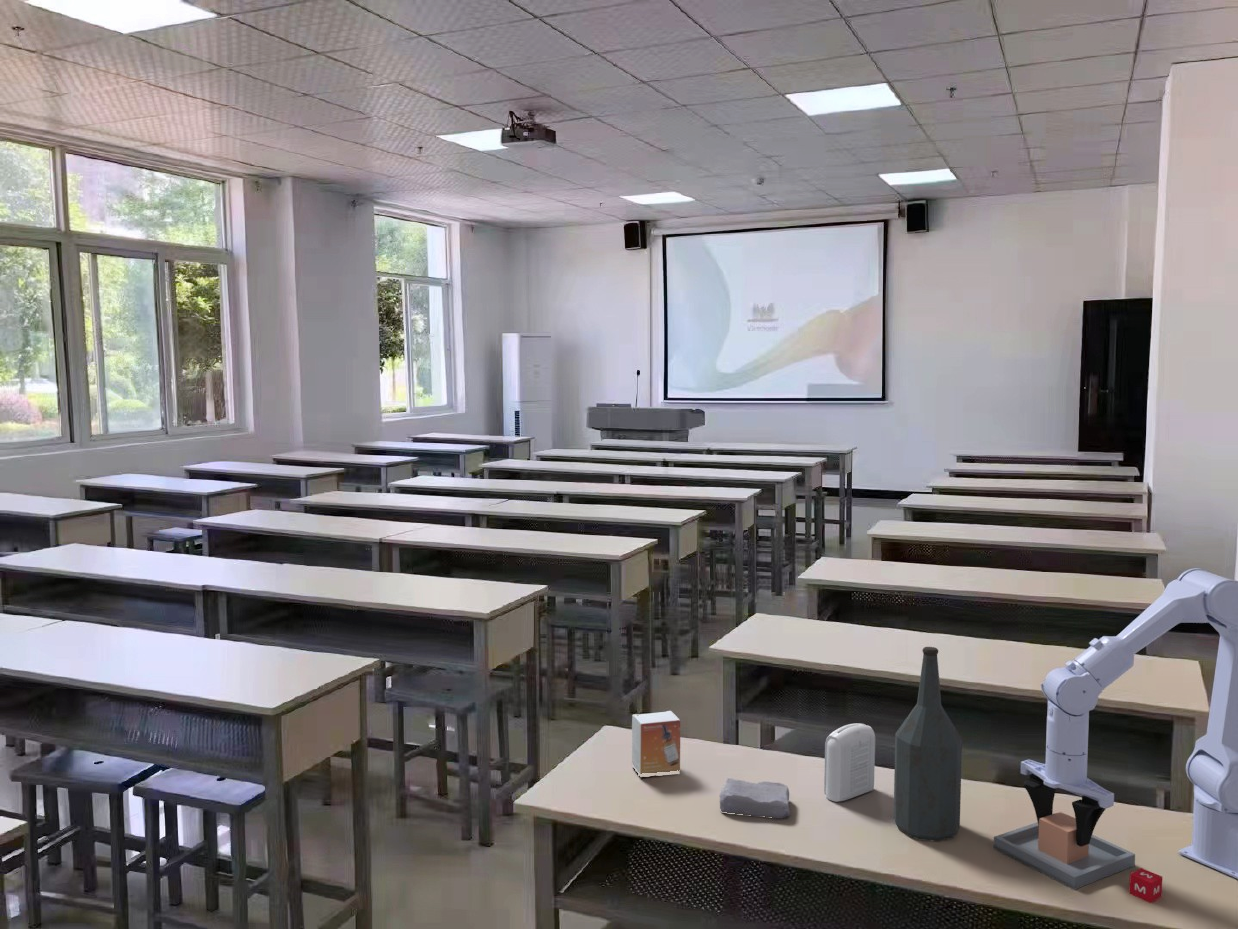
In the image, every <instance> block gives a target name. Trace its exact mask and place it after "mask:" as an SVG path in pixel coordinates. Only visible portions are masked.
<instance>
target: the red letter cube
mask: <svg viewBox="0 0 1238 929" xmlns="http://www.w3.org/2000/svg"><path fill="white" fill-rule="evenodd" d="M1128 889H1129V891H1128V892H1129V895H1131V896H1134V897H1136V898H1138V899H1141V900H1142V901H1144V902H1147V903H1149V904H1153V903H1154V902H1155V901H1157V900H1158V899H1160V898H1162V894H1163V876H1162V875H1159V874H1156V873H1155V872H1152V871H1149V870H1147V869H1145V868H1142V867H1140V868H1139V869H1136V870H1135V871H1133V872H1131V873H1129V888H1128Z"/></svg>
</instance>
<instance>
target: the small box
mask: <svg viewBox="0 0 1238 929" xmlns="http://www.w3.org/2000/svg"><path fill="white" fill-rule="evenodd" d="M631 717H632V718H631V720H632V721H631V764H632V763H633V765H634V767H635V768H636V769H637V771H638V772H639V773H640V774H642V773H657V772H670V771H677V770H678V771H679V770H680V771H681V720H680V718H679V717H678V716H677V715H676V714H675V713H674V712H673V711H672V710H667V711H662V712H661V711H660V712H651V713H641V714H640V713H638V714H637V713H635V714H632V715H631Z"/></svg>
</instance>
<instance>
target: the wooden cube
mask: <svg viewBox="0 0 1238 929" xmlns="http://www.w3.org/2000/svg"><path fill="white" fill-rule="evenodd" d="M1038 850H1039V851H1041V852H1043V853H1045V854H1047V855H1049V856H1051V857H1053V858H1055V859H1057V860H1059V861H1061V862H1063V863H1065V864H1069V863H1072V862H1075V861H1077V860H1080V859H1083V858H1085V857H1088V856H1089V844H1088V845H1085V846H1082V847H1081V846H1078V845H1077V842H1076V818H1075V816H1074V817H1073V816H1071V815H1069V814H1066V813H1064V812H1062V811H1059V812H1055V813H1052V815H1049V816H1046V817H1043V818H1040V819H1039V838H1038Z"/></svg>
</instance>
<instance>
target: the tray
mask: <svg viewBox="0 0 1238 929" xmlns="http://www.w3.org/2000/svg"><path fill="white" fill-rule="evenodd" d="M1038 838H1039V825H1038V821H1036V822H1034V823H1031V824H1028V825H1025V826H1022V827H1019V828H1016V829H1013V830H1009V831H1006V832H1004V833H1002V834H1001V833H1000V834H998V835H995V836H994V837H993V849H995V850H997V851H998V852H1000V853H1002V854H1004V855H1007V856H1009V857H1011V858H1013V859H1014V860H1016V861H1018V862H1021V863H1022V864H1024V865H1026V866H1028V867H1030V868H1032V869H1033V870H1035V871H1038V872H1039V871H1040V872H1039V873H1042V874H1044V875H1045V876H1047V877H1049V878H1051V879H1053V880H1055V881H1057V882H1058V883H1060V884H1062V885H1065V886H1067V887H1069V888H1071V889H1073V890H1076V889H1079V888H1081V887H1084V886H1086V885H1089V884H1091V883H1094V882H1096V881H1099V880H1102V879H1105V878H1107V877H1110V876H1112V875H1114V873H1115V874H1116V873H1120V872H1121V871H1124V870H1127V869H1130V868H1132V867H1135V864H1136V853H1134V852H1132V851H1130V850H1127V849H1125V848H1122V847H1121V846H1118V845H1116V844H1114V843H1112V842H1110V841H1107V840H1105V839H1104V838H1103V839H1102V838H1101V837H1098V836H1096V835H1094V834H1092V836H1091V840H1090V843H1089V856H1088V857H1085V858H1083V859H1080V860H1077V861H1075V862H1072V863H1069V864H1065V863H1063V862H1061V861H1059V860H1057V859H1055V858H1053V857H1051V856H1049V855H1047V854H1045V853H1043V852H1041V851H1039V850H1038ZM1104 877H1105V878H1104Z"/></svg>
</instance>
